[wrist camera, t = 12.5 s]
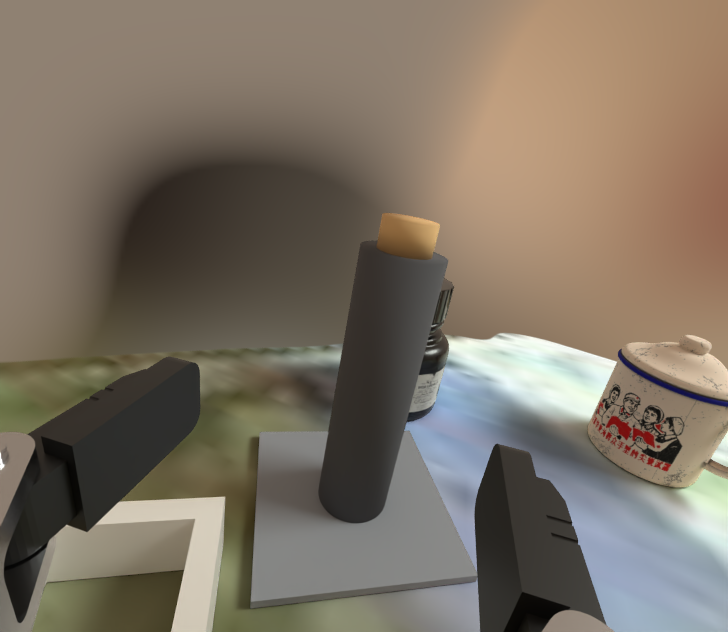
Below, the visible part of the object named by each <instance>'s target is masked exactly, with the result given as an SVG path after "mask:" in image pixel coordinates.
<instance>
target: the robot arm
mask: <svg viewBox="0 0 728 632" xmlns="http://www.w3.org/2000/svg"><path fill="white" fill-rule="evenodd" d="M199 415H200V371H199V367H198V365H197V364H196V363H193V362H189V361H185V360H181V359H178V358H174V357H166V358H164V359H162V360H161V361H159V362H158V363H156V364H154V365H153V366H151V367H150V368H148V369H144V370H141V371H138V372H135V373H132V374H129V375H126V376H123V377H122V378H120V379H118V380H117V381H115V382H113V383H112V384H110V385H108V386H107V387H105V390H100V391H98V392H97V393H95V394H93V395H92V396H90V399H85V400H84V401H82V402H80V403H79V404H77V405H75V406H74V407H72V408H70V409H69V410H67V411H65V412H64V413H62V414H60V415H59V416H57V417H55V418H54V419H52V420H50V421H49V422H47V423H45V424H44V425H42V426H40V427H39V428H37V429H36V430H34V431H32V432H31V433H29V434H23V433H18V432H4V433H0V632H32V628H33V625H34V621H35V618H36V614H37V611H38V607H39V604H40V600H41V597H42V593H43V590H44V586H45V583H46V579H47V576H48V572H49V569H50V565H51V562H52V558H53V555H54V551H55V548H56V534H57V533H58V532H59V531H60V530H61V529H62V528H64V527H65V526H66V525H68V526H71V527H74V528H77V529H80V530H82V531H85V532H88V531H89V530H90V529H91V528H92V527H93V526H94V525H95V524H97V523H98V522H99V521H100V520H101V519H102V518H103V517H104V516H105V515H106V514H107V513H108V512H109V511H110V510H111V509H112V508H113V507H114V506H115V505H116V504H117V503H118V502H119V501H120V500H121V499H122V498H123V497H124V496H125V495H126V494H128V493H129V492H130V491H131V490H132V489H133V488H134V487H135V486H136V485H137V484H138V483H139V482H140V481H141V480H142V479H143V478H144V477H145V476H146V475H147V474H148V473H149V472H150V471H151V470H152V469H153V468H154V467H155V466H156V465H157V464H159V463H160V462H161V461H162V460H163V459H164V458H165V457H166V456H167V455H168V454H169V453H170V452H171V451H172V450H173V449H174V448H175V447H176V446H177V445H178V444H179V443H180V442H181V441H182V440H183V439H184V438H185V437H186V436H187V435H188V434H189V433H190V432H191V431H192V430H193V429H194V427H195V425H196V423H197V421H198V418H199ZM475 535H476V555H477V574H478V594H479V613H480V632H614V631H613V630H612V629H610V628H609V627H608V626H607V625H606V622H605V620H604V617H603V614H602V611H601V608H600V605H599V602H598V599H597V596H596V593H595V590H594V587H593V584H592V581H591V578H590V575H589V572H588V569H587V566H586V563H585V559H584V556H583V553H582V550H581V547H580V545H578V538H577V535H576V532H575V529H574V527H573V526H572V520H571V517H570V514H569V511H568V508H567V505H566V502H565V500H564V499H563V498H562V496H561V495H560V494H559V492H558V491H557V490H556V488H555V487H554V486H553V484H552V483H551V482H550V481H549V480H546V479H542V478H538V477H536V474H535V470H534V466H533V462H532V458H531V455H530V453H529V452H526V451H522V450H519V449H515V448H511V447H507V446H504V445H500V444H496V445H495V446H494V448H493V450H492V453H491V455H490V458H489V461H488V464H487V467H486V470H485V473H484V476H483V478H482V481H481V484H480V487H479V490H478V494H477V498H476V504H475Z"/></svg>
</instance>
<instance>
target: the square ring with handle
mask: <svg viewBox="0 0 728 632" xmlns="http://www.w3.org/2000/svg"><path fill="white" fill-rule="evenodd" d="M224 513H225V497H209V498H188V499H167V500H146V501H125V502H118V503H117V504H116V505H115V506H114V507H113V508H112V509H111V510H110V511H109V512H108V513H107V514H106V515H105V516H104V517H103V518H102V519H101V520H100V521H99V522H98V523H97V524H95V525H94V526H93V527H92V528H91V529H90V530H89V531H88V532H85V531H82V530H80V529H77V528H74V527H71V526H68V525H66V526H65V527H64V528H62V529H61V530H60V531H59V532H58V533H57V534H56V548H55V551H54V555H53V558H52V562H51V565H50V569H49V572H48V576H47V579H46V583H47V582H56V581H67V580H78V579H89V578H100V577H111V576H122V575H133V574H144V573H155V572H166V571H176V570H184V574H183V579H182V583H181V588H180V593H179V597H178V602H177V606H176V611H175V616H174V620H173V625H172V630H171V632H212V627H213V619H214V611H215V604H216V596H217V588H218V581H219V573H220V566H221V558H222V550H223V538H224ZM46 583H45V585H46Z"/></svg>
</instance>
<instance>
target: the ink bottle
mask: <svg viewBox="0 0 728 632" xmlns="http://www.w3.org/2000/svg"><path fill="white" fill-rule="evenodd" d="M453 289H454V286H453V284H452V282H450V281H448V280H447V279H445V278H444V280H443V283H442V287H441V291H440V295H439V299H438V303H437V306H436V310H435V314H434V318H433V322H432V326H431V330H430V333H429V337H428V341H427V345H426V349H425V353H424V356H423V360H422V364H421V368H420V372H419V376H418V380H417V383H416V387H415V391H414V395H413V399H412V403H411V406H410V410H409V414H408V418H407V420H415V419H419V418H421V417H424V416H425V415H427V414H428V413H429V412H430V411H431V410H432V408H433V406H434V404H435V400H436V397H437V394H438V390H439V386H440V383H441V379H442V375H443V372H444V368H445V364H446V361H447V357H448V353H449V344H448V341H447V338H446V337H445V335H444V334H443V333H442V331H441V329H440V328H441V327H442V326H443V324H444V319H445V318H446V315H447V311H448V308H449V304H450V300H451V296H452V292H453Z"/></svg>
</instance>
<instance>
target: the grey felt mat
mask: <svg viewBox="0 0 728 632" xmlns="http://www.w3.org/2000/svg"><path fill="white" fill-rule="evenodd" d="M327 437H328V432H260V437H259V455H258V474H257V493H256V511H255V530H254V548H253V567H252V585H251V604H250V609H252V608H260V607H268V606H276V605H285V604H293V603H301V602H310V601H318V600H326V599H335V598H343V597H351V596H359V595H368V594H376V593H384V592H393V591H401V590H409V589H418V588H426V587H434V586H442V585H451V584H459V583H467V582H476V580H477V577H478V574H477V572H476V570H475V568H474V565H473V563H472V561H471V559H470V557H469V555H468V553H467V551H466V549H465V547H464V544H463V542H462V540H461V538H460V536H459V534H458V532H457V530H456V528H455V526H454V524H453V521H452V519H451V517H450V515H449V513H448V511H447V509H446V507H445V505H444V503H443V500H442V498H441V496H440V494H439V492H438V490H437V488H436V486H435V484H434V482H433V479H432V477H431V475H430V473H429V471H428V469H427V467H426V465H425V463H424V461H423V458H422V456H421V454H420V452H419V450H418V448H417V446H416V444H415V442H414V440H413V437H412V435H411V433H410V431H404V433H403V437H402V441H401V445H400V449H399V453H398V456H397V460H396V464H395V468H394V472H393V476H392V479H391V483H390V487H389V491H388V495H387V499H386V503H385V506H384V509H383V510H382V512H381V513H380V514H379V515H378V516H377V517H376V518H374V519H373V520H370V521H368V522H364V523H349V522H344V521H342V520H339V519H337V518H335V517H334V516H332V515H331V514H329V513H328V512H327V511H326V510H325V508H324V507H323V506H322V504H321V502H320V499H319V495H318V490H319V483H320V477H321V471H322V466H323V460H324V454H325V448H326V442H327Z"/></svg>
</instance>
